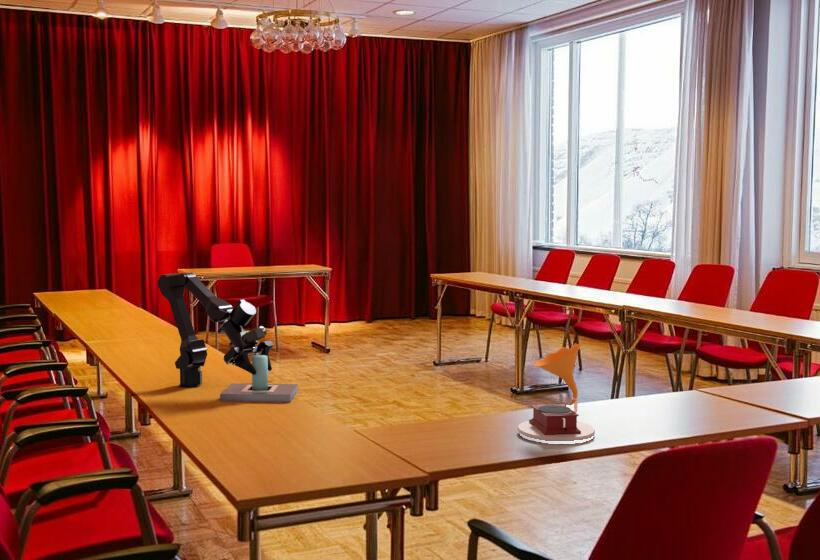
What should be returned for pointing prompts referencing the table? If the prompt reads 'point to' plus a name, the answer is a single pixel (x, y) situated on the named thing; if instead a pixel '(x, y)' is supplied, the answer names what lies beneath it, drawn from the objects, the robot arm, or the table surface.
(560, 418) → the gramophone
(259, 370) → the teal peg
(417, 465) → the table surface
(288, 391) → the flange plate
